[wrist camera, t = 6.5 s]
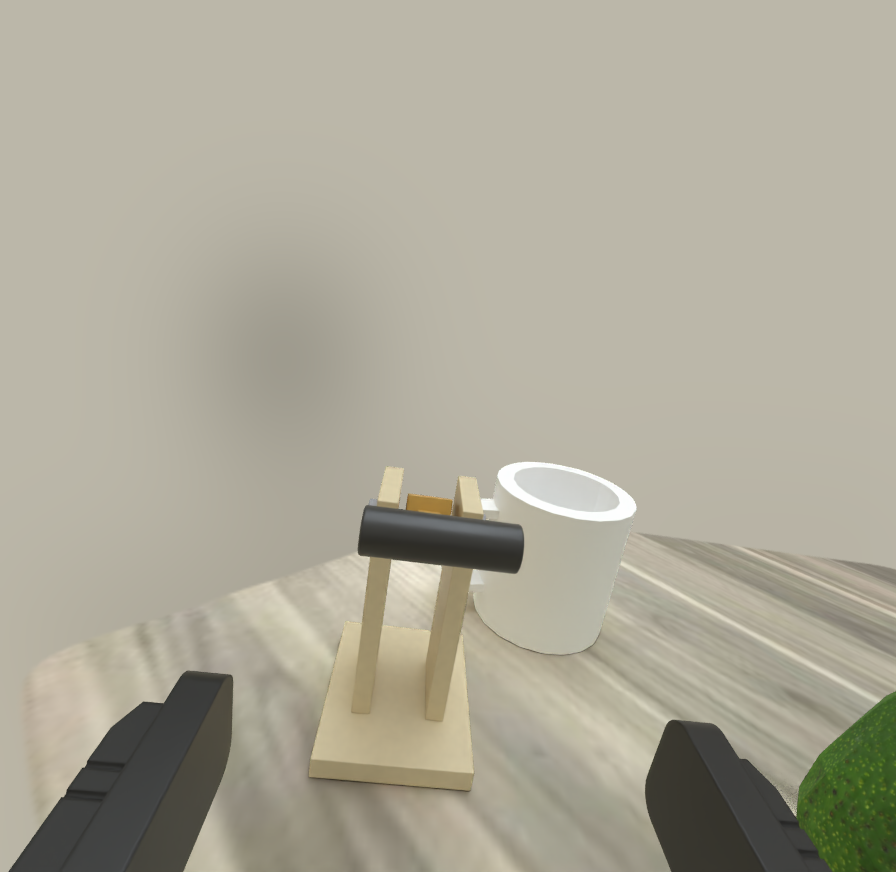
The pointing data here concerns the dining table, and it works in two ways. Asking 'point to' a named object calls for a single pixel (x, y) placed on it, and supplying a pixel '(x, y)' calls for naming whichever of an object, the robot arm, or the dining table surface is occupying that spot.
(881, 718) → the avocado
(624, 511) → the mug
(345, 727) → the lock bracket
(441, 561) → the lever
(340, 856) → the dining table surface
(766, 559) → the dining table surface
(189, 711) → the robot arm
